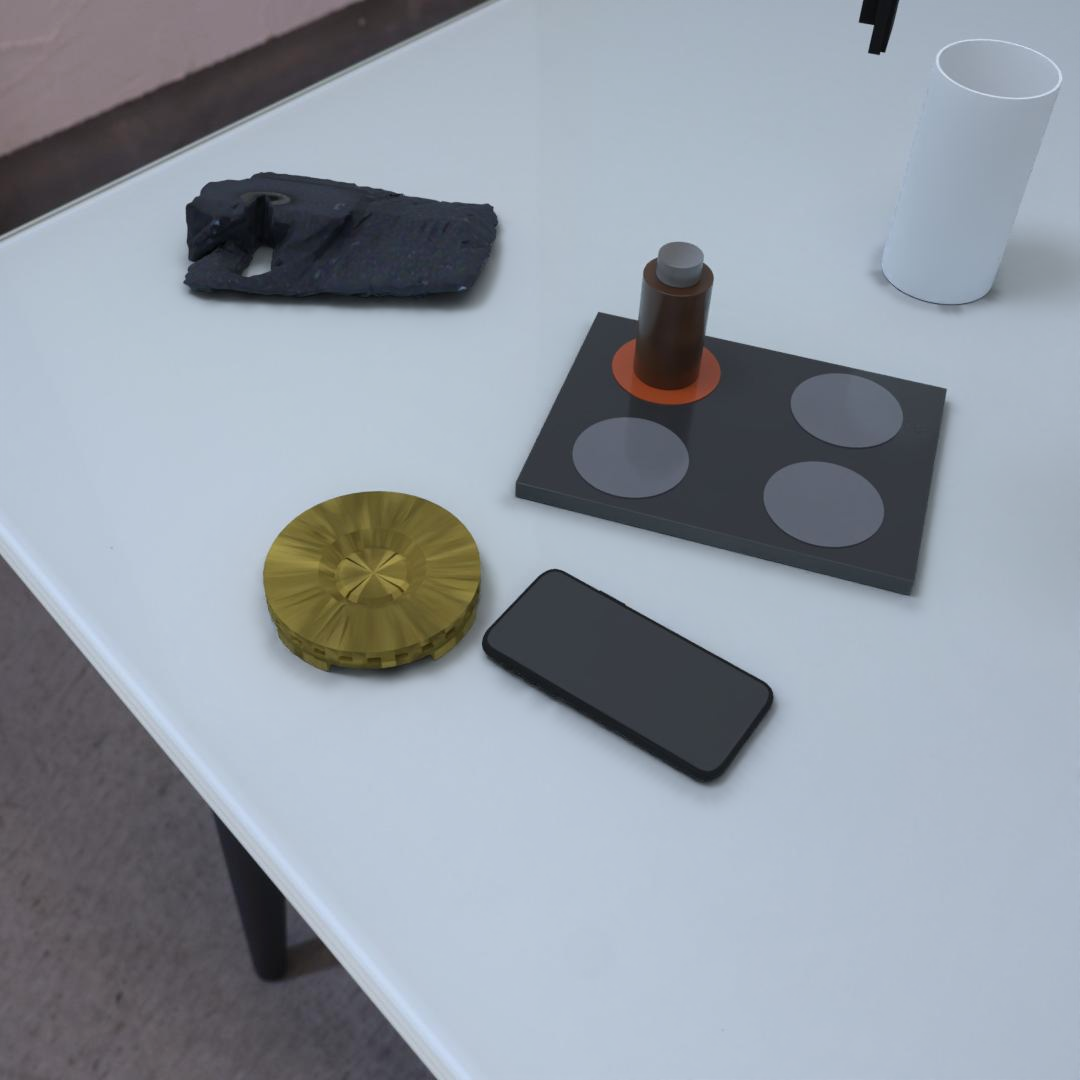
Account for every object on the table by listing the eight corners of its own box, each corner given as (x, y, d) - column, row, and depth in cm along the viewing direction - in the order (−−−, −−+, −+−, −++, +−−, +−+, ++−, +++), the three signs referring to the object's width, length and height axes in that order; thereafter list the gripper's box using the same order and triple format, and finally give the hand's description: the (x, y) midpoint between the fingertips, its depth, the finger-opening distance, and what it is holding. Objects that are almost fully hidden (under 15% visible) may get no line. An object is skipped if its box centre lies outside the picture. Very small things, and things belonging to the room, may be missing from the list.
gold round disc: (493, 665, 71) (493, 640, 69) (269, 688, 70) (264, 663, 68) (467, 508, 79) (467, 482, 78) (266, 526, 78) (261, 500, 76)
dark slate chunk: (472, 332, 91) (472, 275, 87) (165, 296, 93) (153, 238, 89) (508, 210, 101) (509, 155, 98) (232, 180, 103) (223, 124, 99)
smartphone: (714, 784, 65) (472, 641, 71) (711, 794, 66) (472, 652, 71) (783, 688, 70) (550, 560, 75) (779, 698, 70) (549, 571, 76)
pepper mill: (706, 356, 88) (724, 242, 81) (690, 396, 85) (708, 281, 78) (642, 342, 89) (655, 227, 82) (625, 381, 86) (637, 266, 79)
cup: (879, 234, 101) (931, 33, 89) (987, 245, 100) (1054, 44, 88) (883, 297, 95) (939, 92, 83) (998, 310, 94) (1071, 105, 83)
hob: (942, 402, 87) (947, 387, 86) (909, 595, 75) (915, 580, 74) (597, 325, 92) (598, 310, 91) (514, 496, 80) (515, 481, 79)
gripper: (1403, -424, 44) (1201, 57, 57) (892, -475, 48) (807, -9, 60) (1435, -373, 39) (1206, 141, 52) (862, -433, 43) (776, 64, 55)
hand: (992, 60), depth 56 cm, fingers open, 9 cm apart
